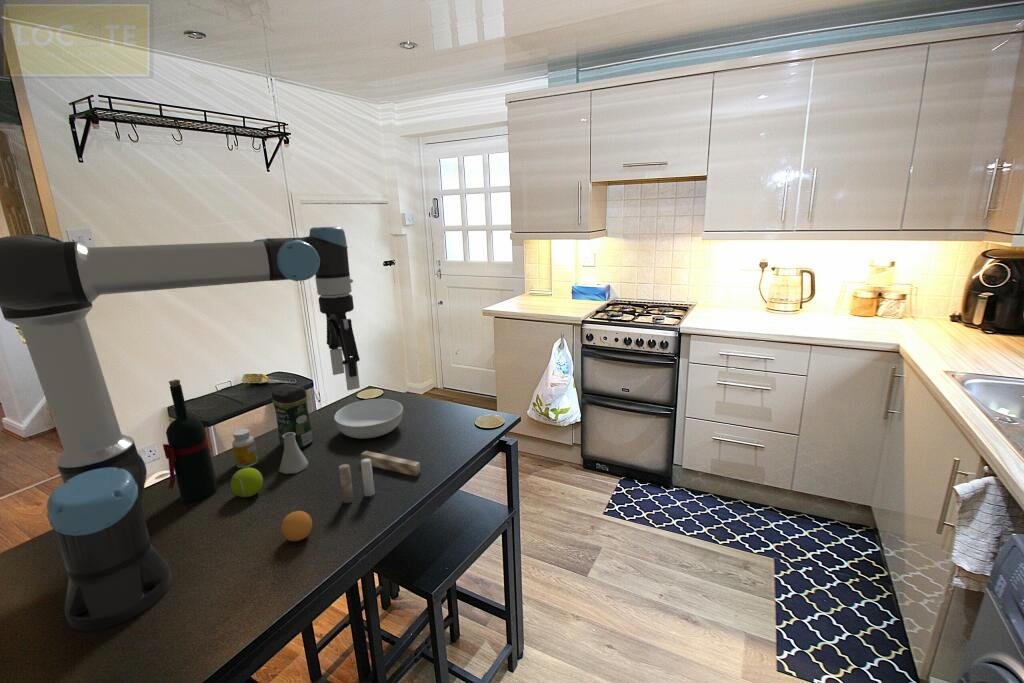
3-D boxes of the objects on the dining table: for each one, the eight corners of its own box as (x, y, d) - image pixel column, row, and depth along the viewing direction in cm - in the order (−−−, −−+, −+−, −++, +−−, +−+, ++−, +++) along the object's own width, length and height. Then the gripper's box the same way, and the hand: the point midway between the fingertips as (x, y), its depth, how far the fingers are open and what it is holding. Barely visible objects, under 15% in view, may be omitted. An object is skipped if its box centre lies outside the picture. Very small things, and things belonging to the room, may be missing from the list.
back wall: (420, 472, 128) (419, 462, 127) (416, 476, 126) (415, 466, 125) (366, 460, 135) (365, 450, 134) (362, 463, 133) (360, 453, 132)
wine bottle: (164, 503, 117) (135, 387, 110) (206, 482, 126) (181, 373, 118) (183, 511, 114) (154, 392, 106) (224, 489, 123) (201, 377, 115)
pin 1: (345, 504, 115) (340, 470, 112) (342, 499, 117) (337, 466, 114) (355, 500, 116) (350, 467, 114) (352, 496, 118) (347, 463, 115)
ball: (287, 551, 99) (282, 526, 97) (281, 536, 104) (276, 512, 102) (317, 539, 102) (313, 515, 101) (310, 525, 107) (306, 501, 106)
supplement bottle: (231, 466, 134) (225, 434, 131) (247, 457, 138) (241, 426, 136) (246, 469, 132) (240, 437, 129) (262, 460, 137) (256, 428, 134)
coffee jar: (275, 445, 145) (265, 387, 141) (298, 434, 152) (289, 379, 147) (295, 452, 140) (285, 393, 135) (318, 441, 147) (309, 384, 142)
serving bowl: (322, 442, 146) (319, 421, 145) (362, 415, 166) (359, 396, 164) (382, 450, 140) (380, 428, 139) (416, 420, 160) (414, 401, 158)
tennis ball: (254, 484, 124) (249, 459, 123) (270, 491, 121) (266, 466, 119) (227, 498, 119) (222, 472, 117) (243, 506, 115) (238, 480, 113)
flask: (297, 476, 128) (292, 441, 125) (273, 473, 129) (267, 439, 127) (313, 462, 135) (308, 429, 132) (290, 460, 136) (285, 428, 134)
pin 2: (366, 497, 117) (362, 464, 115) (363, 493, 119) (359, 460, 116) (376, 494, 118) (372, 461, 116) (372, 490, 120) (368, 457, 118)
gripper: (367, 300, 104) (377, 392, 110) (338, 287, 124) (347, 365, 130) (331, 304, 100) (343, 399, 106) (307, 290, 120) (318, 370, 126)
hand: (345, 381), depth 118 cm, fingers open, 13 cm apart
